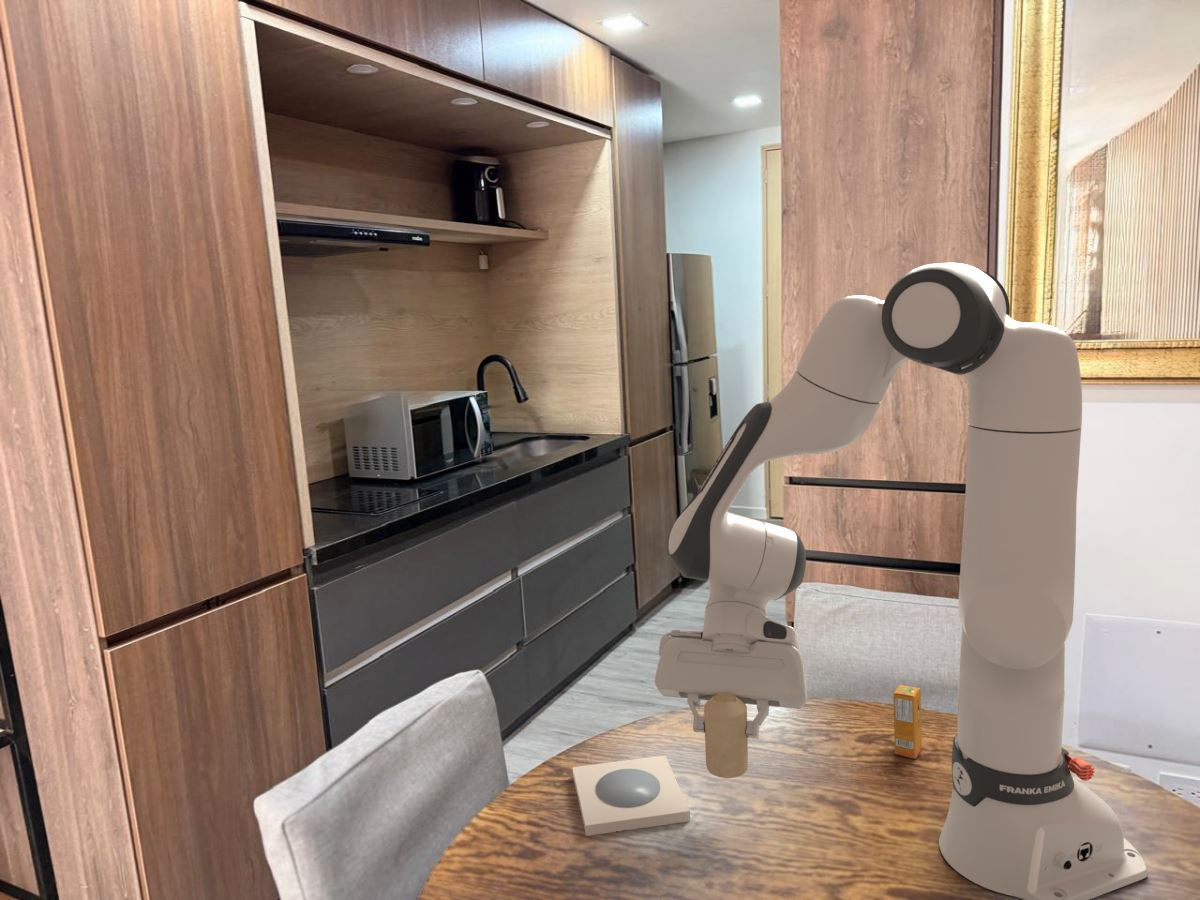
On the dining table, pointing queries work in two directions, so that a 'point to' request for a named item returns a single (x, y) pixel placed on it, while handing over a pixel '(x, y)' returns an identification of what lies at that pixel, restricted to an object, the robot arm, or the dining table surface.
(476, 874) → the dining table surface
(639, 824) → the base board
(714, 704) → the candle
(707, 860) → the dining table surface
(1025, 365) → the robot arm
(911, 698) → the supplement box
